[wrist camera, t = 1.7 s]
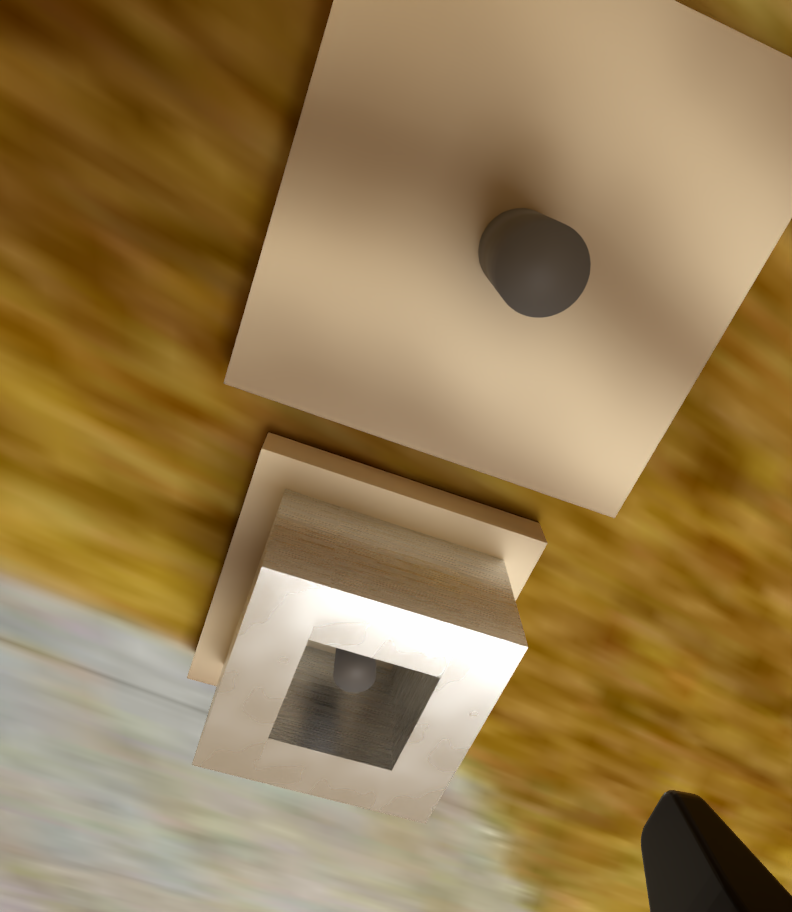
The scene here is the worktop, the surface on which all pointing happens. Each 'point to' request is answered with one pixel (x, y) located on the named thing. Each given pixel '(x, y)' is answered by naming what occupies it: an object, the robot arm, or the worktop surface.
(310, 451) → the stand
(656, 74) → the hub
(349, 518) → the collar
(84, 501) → the worktop surface
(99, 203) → the worktop surface
